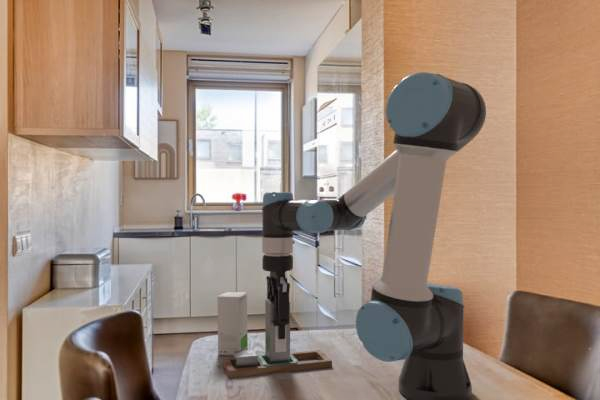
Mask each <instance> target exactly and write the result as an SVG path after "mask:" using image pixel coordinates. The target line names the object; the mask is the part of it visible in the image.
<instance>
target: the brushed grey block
mask: <svg viewBox="0 0 600 400" xmlns="http://www.w3.org/2000/svg"><path fill="white" fill-rule="evenodd" d="M264 313H265V318H264V319H265V320H264V321H265V327H264V328H265V329H264V331H265V333H264V334H265V336H264V337H265V340H264V341H265V342H264V343H265V350H264V352H265V359H266V361H267V364H275V363H285V362H290V353H291V302H290V301H289V324H287V325H286V352H276V353H275V326H273V323H276V312H275V299H267V298H266V299H265V312H264Z"/></svg>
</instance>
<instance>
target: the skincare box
mask: <svg viewBox="0 0 600 400" xmlns="http://www.w3.org/2000/svg"><path fill="white" fill-rule="evenodd" d="M248 340H249V339H248V292H246V291H239V292H238V291H236V292H235V291H233V292H232V291H226V292H225V293H224V292H223V293H221V294H219V295H217V355H219V356H228V357H229V356H232V357H234V351H243V350H248V346H249V345H248V342H249V341H248Z"/></svg>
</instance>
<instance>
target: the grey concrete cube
mask: <svg viewBox="0 0 600 400" xmlns="http://www.w3.org/2000/svg"><path fill="white" fill-rule="evenodd" d="M258 356H259V355H258V354H257V353H256V351H255V349H246V350H243V351H234V356H233V358H234V366H233V367H234V369H236V368H247V367H257V366H258Z"/></svg>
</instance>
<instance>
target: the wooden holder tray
mask: <svg viewBox="0 0 600 400" xmlns="http://www.w3.org/2000/svg"><path fill="white" fill-rule="evenodd" d="M257 356H258V366H257V367H247V368H236V369H234V357H229V358H223V361H222V363H223V364H222V365H223V367H224V369H225V372H226V374H227V375H228V378H229V379H231V378H239V377H247V376H257V375H258V376H260V375H265V374H269V375H270V374H278V373H284V372H286V373H288V372H295V371H296V372H298V371H305V370H307V371H308V370H314V369H315V370H316V369H326V368H333V360H332V359H331V358H329V356H327V354H325V353H323V352H322V350H321V349H315V350H307V351H294V352H293V351H292V352H290V362H285V363H275V364H269V363H268V362H267V361H266V359H265V354H264V353H263V354H258V355H257ZM306 359H316V360H310V361H301V362H300V361H299V360H306Z"/></svg>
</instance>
